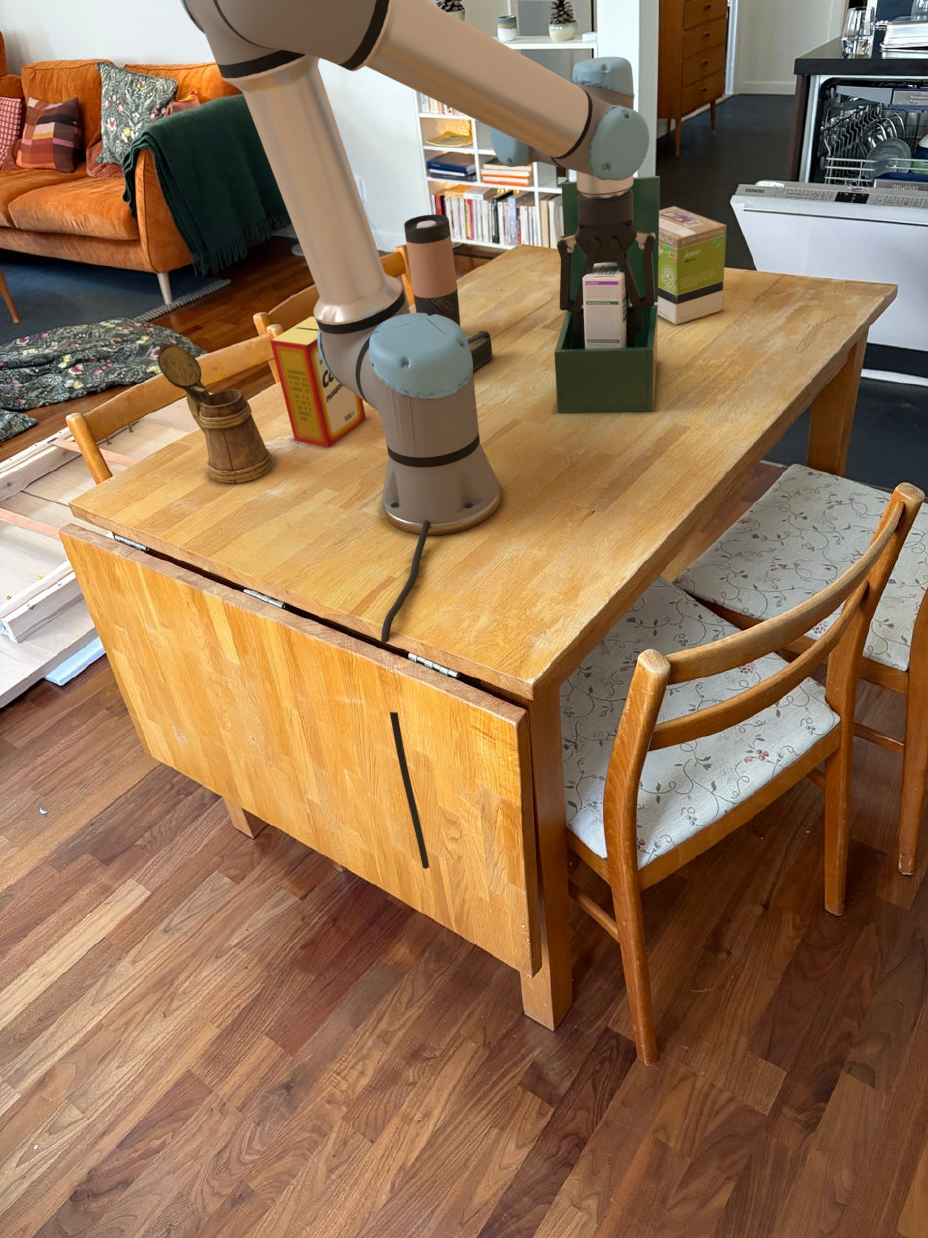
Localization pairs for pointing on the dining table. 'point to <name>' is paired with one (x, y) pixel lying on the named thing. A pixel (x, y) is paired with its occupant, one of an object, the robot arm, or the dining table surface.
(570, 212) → the lid
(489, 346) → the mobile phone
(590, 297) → the syrup box
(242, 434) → the wooden mug
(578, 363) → the tin
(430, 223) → the travel mug
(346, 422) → the baking soda box
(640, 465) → the dining table surface
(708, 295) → the tea box
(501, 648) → the dining table surface
